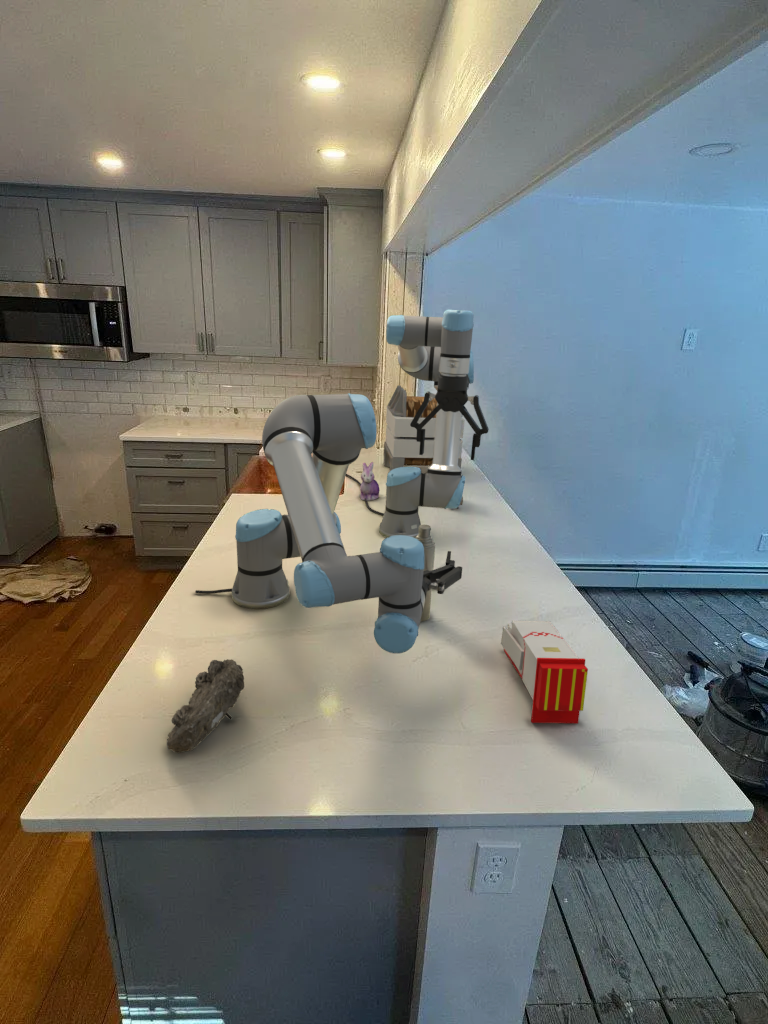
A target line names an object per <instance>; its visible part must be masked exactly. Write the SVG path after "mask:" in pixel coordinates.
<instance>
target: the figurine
mask: <svg viewBox="0 0 768 1024" xmlns="http://www.w3.org/2000/svg"><path fill="white" fill-rule="evenodd" d="M373 469H374V462H373V461H372V462H370V463H369V464H368V465H367V464H366V462H363V463H362V473H361V474H360V479H361V482H360V483H361V486H360V485H359V486H360V487H359V491H360V494H359V498H360V500H361V501H365V500H364V499H365V498H366V499H367V502H369V501H374V500H377V499H379V497H380V491H381V490H380V485H379V483H378V481H377V480H376V479H375V474H374V472H373Z"/></svg>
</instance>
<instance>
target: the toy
mask: <svg viewBox="0 0 768 1024" xmlns="http://www.w3.org/2000/svg"><path fill="white" fill-rule="evenodd" d="M500 645H501V646H502V648H503V652H504V654H505V655H506V657H507V658H508V660H509V661H510V663H511V664H512V666H513V668H514V669H515V671H516V672H517V674H518V676H519V677H520V679H521V680H522V683H523V685H524V686H525V688H526V690H527V692H528V694H529V696H530V697H531V699H532V708H531V719H530V722H531V723H532V724H579V719H580V712H583V711H584V706H585V697H586V689H587V680H588V671H589V669H588V667H587V666H586V659H585V658H580V657H579V656H578V655H577V654H576V652H575V651H574V650H573V648H572V647H571V646H570V645H569V644H568V642H567V641H566V640H565V638H564V637H563V636H562V634H561V633H560V632H559V631H558V630H557V628H556V627H555V626H554V624H553V623H552V622H551V621H549V620H548V621H545V620H540V621H539V620H511V622H508V623H507V626H502V632H501V638H500Z"/></svg>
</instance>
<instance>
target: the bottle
mask: <svg viewBox="0 0 768 1024" xmlns="http://www.w3.org/2000/svg"><path fill="white" fill-rule="evenodd" d="M431 530H432V526H431V525H429V524H421V525H420V526H419V534H418V535H417V537H416V539H418V540H419V541H420V542H421V543H422V544H423V547H424V571H426V570H429V571H432V570H434V568H435V567H434V565H435V553H436V542H435V541H434V539H433V537H432V535H431ZM432 590H433V589H430V590H429V591H428V592H427V595H426V600H425V604H424V608H423V612H422V615H421V620H420V622H425V621H427V620H429V619H430V618H431V617H430V616H431V605H432V604H431V603H432V592H433V591H432Z"/></svg>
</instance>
